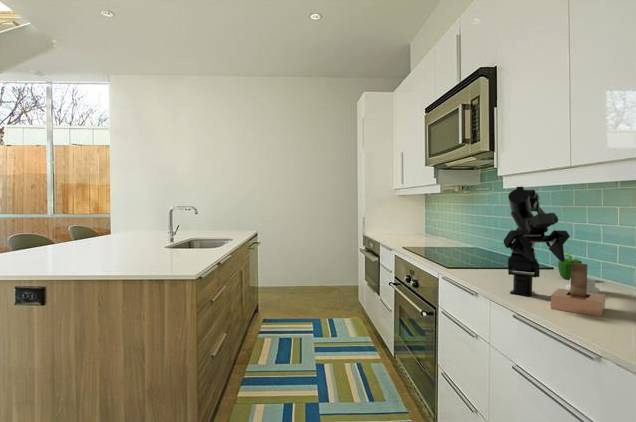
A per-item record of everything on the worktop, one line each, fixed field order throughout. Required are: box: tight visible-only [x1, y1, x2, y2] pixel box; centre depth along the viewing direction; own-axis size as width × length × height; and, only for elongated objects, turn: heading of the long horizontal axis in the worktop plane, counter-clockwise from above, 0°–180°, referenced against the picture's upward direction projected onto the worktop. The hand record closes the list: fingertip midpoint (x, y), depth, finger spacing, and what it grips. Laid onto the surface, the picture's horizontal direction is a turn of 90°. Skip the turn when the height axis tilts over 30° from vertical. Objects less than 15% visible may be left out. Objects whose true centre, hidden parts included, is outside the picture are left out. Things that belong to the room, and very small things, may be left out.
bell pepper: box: [557, 253, 583, 280], centre depth 166 cm, size 8×8×10 cm
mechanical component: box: [565, 277, 600, 294], centre depth 143 cm, size 10×4×10 cm
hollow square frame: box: [550, 288, 606, 318], centre depth 118 cm, size 12×12×4 cm
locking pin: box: [569, 263, 588, 298], centre depth 118 cm, size 4×4×13 cm
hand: (549, 261), depth 119 cm, fingers open, 9 cm apart
